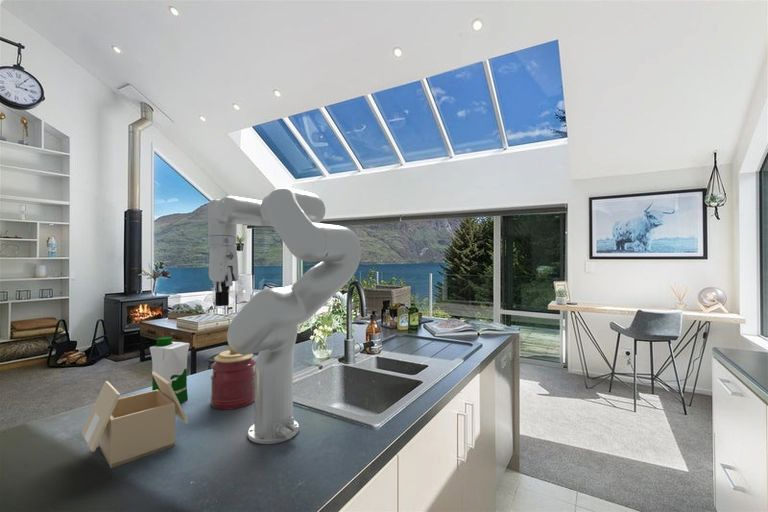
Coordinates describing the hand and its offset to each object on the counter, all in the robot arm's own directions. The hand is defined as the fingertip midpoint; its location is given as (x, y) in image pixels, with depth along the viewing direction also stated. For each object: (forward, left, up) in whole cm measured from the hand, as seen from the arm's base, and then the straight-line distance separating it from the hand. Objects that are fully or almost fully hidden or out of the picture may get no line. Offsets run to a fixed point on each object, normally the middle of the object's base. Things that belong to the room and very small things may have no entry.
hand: (222, 305), depth 106 cm
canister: (+5, -6, -31) cm, 32 cm away
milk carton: (+18, +8, -31) cm, 37 cm away
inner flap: (-5, +16, -21) cm, 27 cm away
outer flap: (-5, +28, -21) cm, 35 cm away
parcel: (-5, +22, -31) cm, 38 cm away
